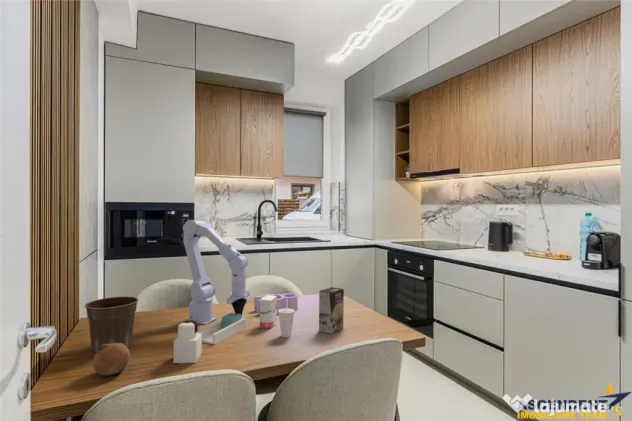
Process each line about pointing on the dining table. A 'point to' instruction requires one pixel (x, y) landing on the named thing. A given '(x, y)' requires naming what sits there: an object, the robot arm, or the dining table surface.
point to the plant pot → (111, 321)
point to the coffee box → (331, 309)
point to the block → (230, 319)
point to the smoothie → (286, 320)
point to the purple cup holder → (279, 302)
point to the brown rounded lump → (111, 359)
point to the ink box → (268, 311)
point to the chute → (220, 331)
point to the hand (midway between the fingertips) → (238, 316)
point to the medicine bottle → (187, 343)
